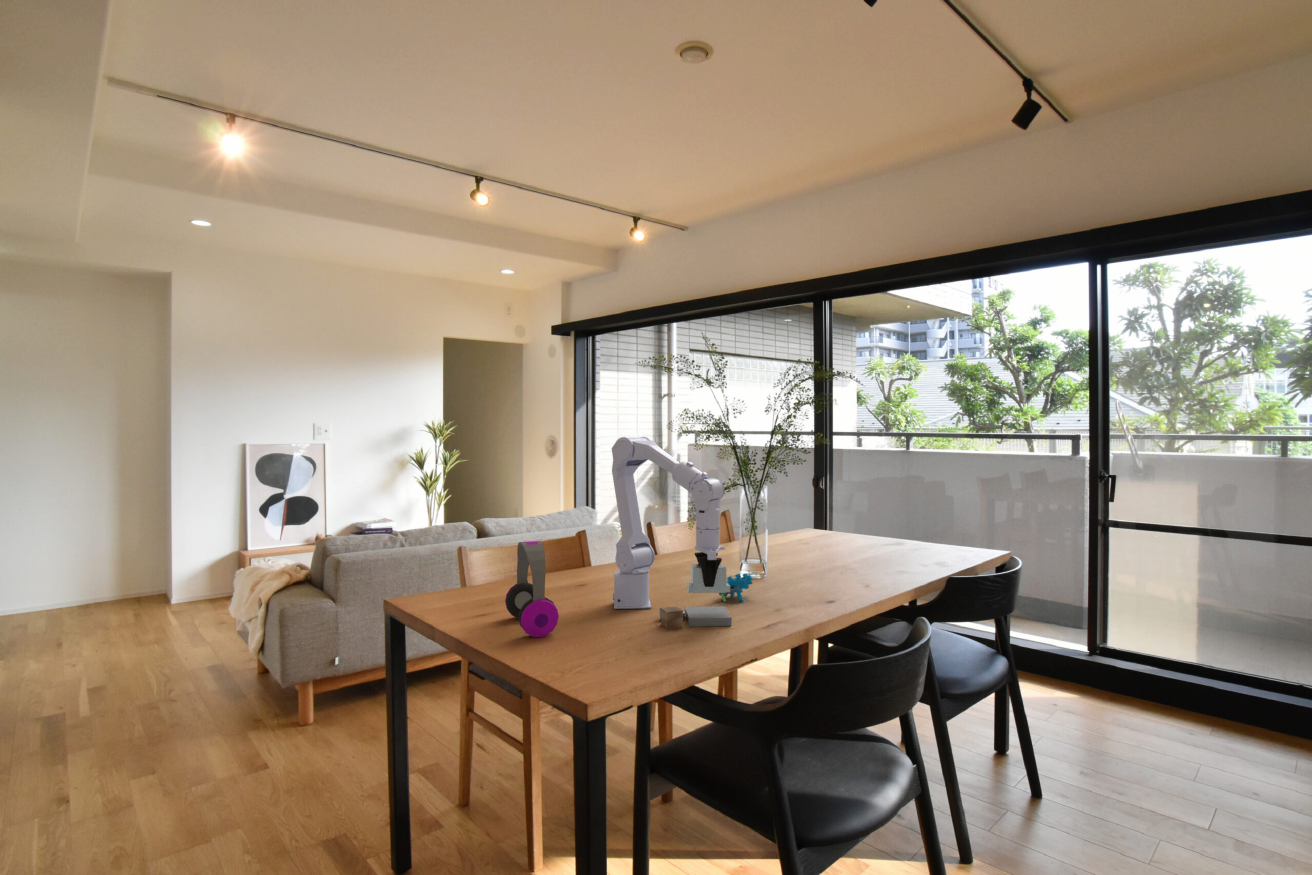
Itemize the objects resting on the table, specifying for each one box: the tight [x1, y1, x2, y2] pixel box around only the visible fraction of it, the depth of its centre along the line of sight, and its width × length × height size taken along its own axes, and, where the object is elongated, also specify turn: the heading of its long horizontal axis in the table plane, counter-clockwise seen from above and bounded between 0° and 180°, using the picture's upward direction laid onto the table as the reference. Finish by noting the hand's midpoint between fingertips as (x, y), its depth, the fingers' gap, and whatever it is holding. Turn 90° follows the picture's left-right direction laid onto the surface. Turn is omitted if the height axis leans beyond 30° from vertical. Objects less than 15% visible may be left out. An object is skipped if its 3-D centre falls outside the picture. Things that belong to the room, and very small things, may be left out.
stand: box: [684, 605, 733, 627], centre depth 164 cm, size 10×10×2 cm
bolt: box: [658, 607, 686, 621], centre depth 165 cm, size 6×3×3 cm, turn 94°
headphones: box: [504, 540, 560, 638], centre depth 159 cm, size 21×9×20 cm, turn 23°
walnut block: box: [660, 605, 684, 630], centre depth 160 cm, size 4×4×4 cm
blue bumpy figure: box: [718, 573, 753, 603], centre depth 184 cm, size 11×6×10 cm
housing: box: [686, 563, 730, 594], centre depth 164 cm, size 10×4×6 cm, turn 94°
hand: (707, 584), depth 164 cm, fingers closed on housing, 4 cm apart
